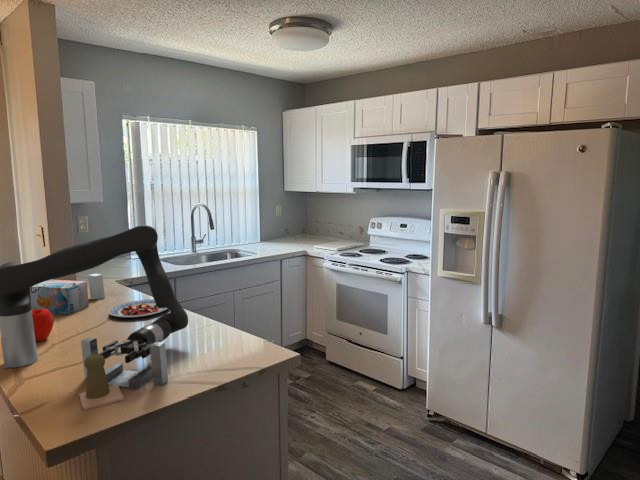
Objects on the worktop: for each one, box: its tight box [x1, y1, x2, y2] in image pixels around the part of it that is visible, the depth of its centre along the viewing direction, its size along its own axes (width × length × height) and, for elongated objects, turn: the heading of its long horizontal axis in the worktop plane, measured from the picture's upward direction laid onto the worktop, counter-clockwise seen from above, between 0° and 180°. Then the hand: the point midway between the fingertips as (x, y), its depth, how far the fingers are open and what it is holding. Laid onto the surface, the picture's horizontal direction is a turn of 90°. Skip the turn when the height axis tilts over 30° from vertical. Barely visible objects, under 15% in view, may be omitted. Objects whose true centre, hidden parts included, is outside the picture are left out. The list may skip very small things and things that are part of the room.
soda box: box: [30, 279, 89, 316], centre depth 214 cm, size 41×14×13 cm, turn 78°
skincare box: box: [87, 273, 105, 301], centre depth 230 cm, size 6×4×12 cm
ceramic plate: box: [108, 298, 169, 319], centre depth 206 cm, size 26×26×3 cm
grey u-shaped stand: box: [80, 336, 169, 390], centre depth 138 cm, size 10×26×12 cm, turn 78°
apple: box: [32, 309, 54, 342], centre depth 173 cm, size 10×10×12 cm
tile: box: [78, 384, 125, 411], centre depth 128 cm, size 10×10×1 cm
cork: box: [83, 353, 110, 399], centre depth 128 cm, size 6×6×11 cm
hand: (113, 358), depth 133 cm, fingers open, 8 cm apart
